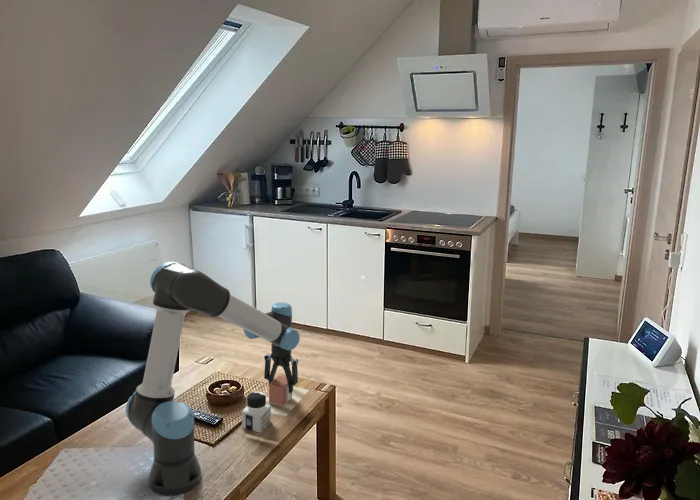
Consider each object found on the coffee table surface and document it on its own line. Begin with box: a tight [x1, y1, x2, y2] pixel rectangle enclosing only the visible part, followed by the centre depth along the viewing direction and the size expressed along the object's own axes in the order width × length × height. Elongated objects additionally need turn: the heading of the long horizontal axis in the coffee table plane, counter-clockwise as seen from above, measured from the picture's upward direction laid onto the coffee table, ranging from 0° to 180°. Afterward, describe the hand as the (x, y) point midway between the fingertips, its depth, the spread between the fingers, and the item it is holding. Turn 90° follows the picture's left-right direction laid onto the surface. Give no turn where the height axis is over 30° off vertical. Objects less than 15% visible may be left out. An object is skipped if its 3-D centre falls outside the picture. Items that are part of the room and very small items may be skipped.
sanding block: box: [268, 375, 292, 407], centre depth 209 cm, size 8×6×8 cm
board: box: [265, 386, 310, 418], centre depth 211 cm, size 22×14×1 cm, turn 161°
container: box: [241, 391, 272, 433], centre depth 192 cm, size 8×8×13 cm
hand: (280, 397), depth 209 cm, fingers closed on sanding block, 6 cm apart
